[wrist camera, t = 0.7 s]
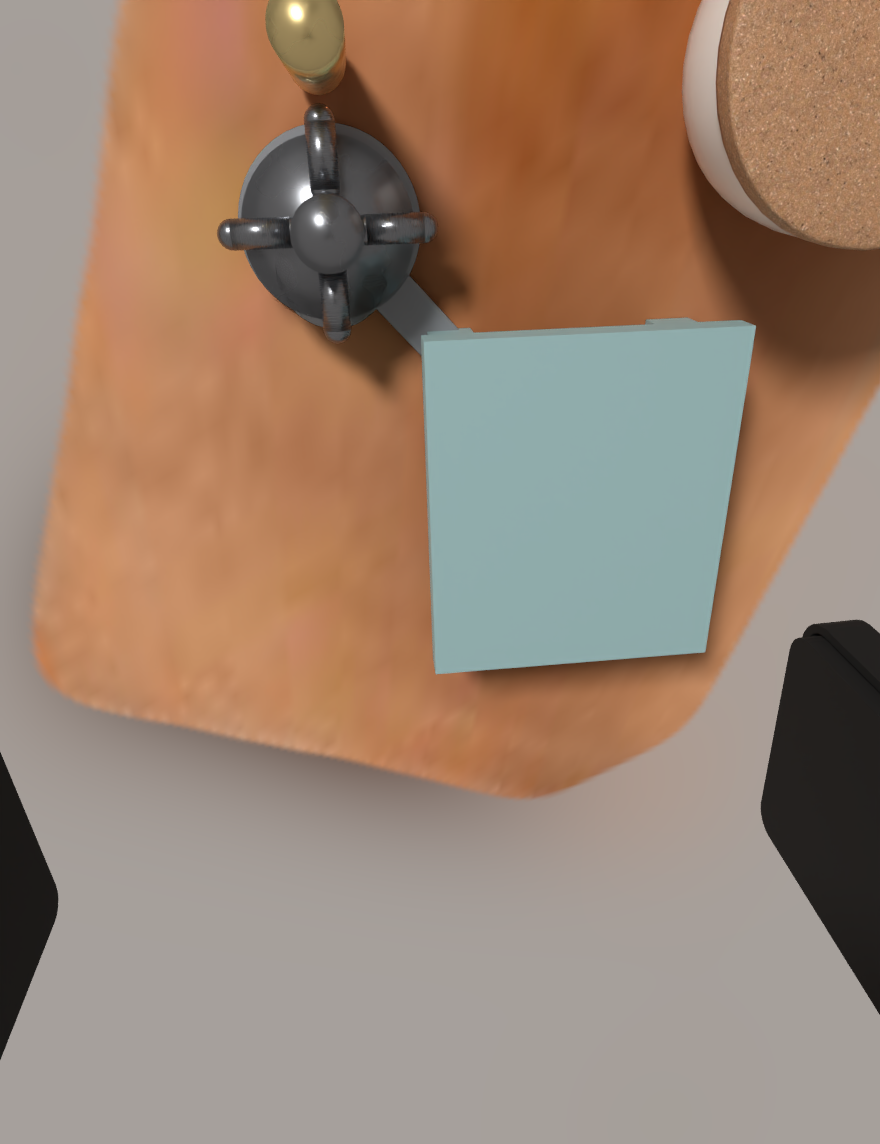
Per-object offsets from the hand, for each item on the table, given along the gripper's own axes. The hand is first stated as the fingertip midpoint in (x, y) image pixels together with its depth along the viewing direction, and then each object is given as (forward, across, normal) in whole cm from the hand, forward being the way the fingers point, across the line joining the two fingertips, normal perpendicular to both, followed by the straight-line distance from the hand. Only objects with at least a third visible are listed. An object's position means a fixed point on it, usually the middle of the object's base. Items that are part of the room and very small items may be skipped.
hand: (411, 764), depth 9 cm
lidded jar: (+26, -16, -8) cm, 31 cm away
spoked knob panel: (+25, -4, +3) cm, 26 cm away
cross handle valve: (+25, +1, -6) cm, 25 cm away
